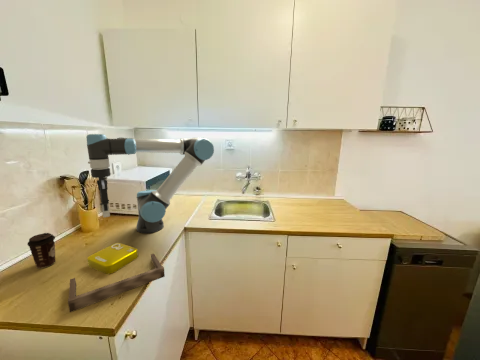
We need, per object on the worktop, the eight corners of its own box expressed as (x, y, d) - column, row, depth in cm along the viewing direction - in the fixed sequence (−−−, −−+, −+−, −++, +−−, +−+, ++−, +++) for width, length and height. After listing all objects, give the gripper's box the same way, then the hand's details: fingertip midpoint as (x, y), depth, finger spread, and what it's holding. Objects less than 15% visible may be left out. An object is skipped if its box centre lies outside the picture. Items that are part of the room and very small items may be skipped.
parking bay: (154, 259, 97) (154, 251, 96) (164, 276, 85) (164, 267, 84) (71, 286, 79) (69, 276, 78) (69, 312, 68) (67, 301, 67)
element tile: (86, 266, 91) (84, 256, 90) (118, 249, 105) (117, 240, 104) (109, 276, 86) (108, 265, 85) (140, 257, 99) (139, 247, 98)
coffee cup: (57, 256, 98) (52, 230, 95) (61, 263, 93) (56, 235, 90) (31, 264, 91) (25, 237, 89) (34, 272, 86) (28, 243, 83)
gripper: (89, 166, 102) (96, 212, 107) (91, 171, 90) (98, 222, 95) (108, 165, 106) (113, 209, 111) (111, 169, 95) (117, 219, 100)
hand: (106, 215), depth 103 cm, fingers closed
